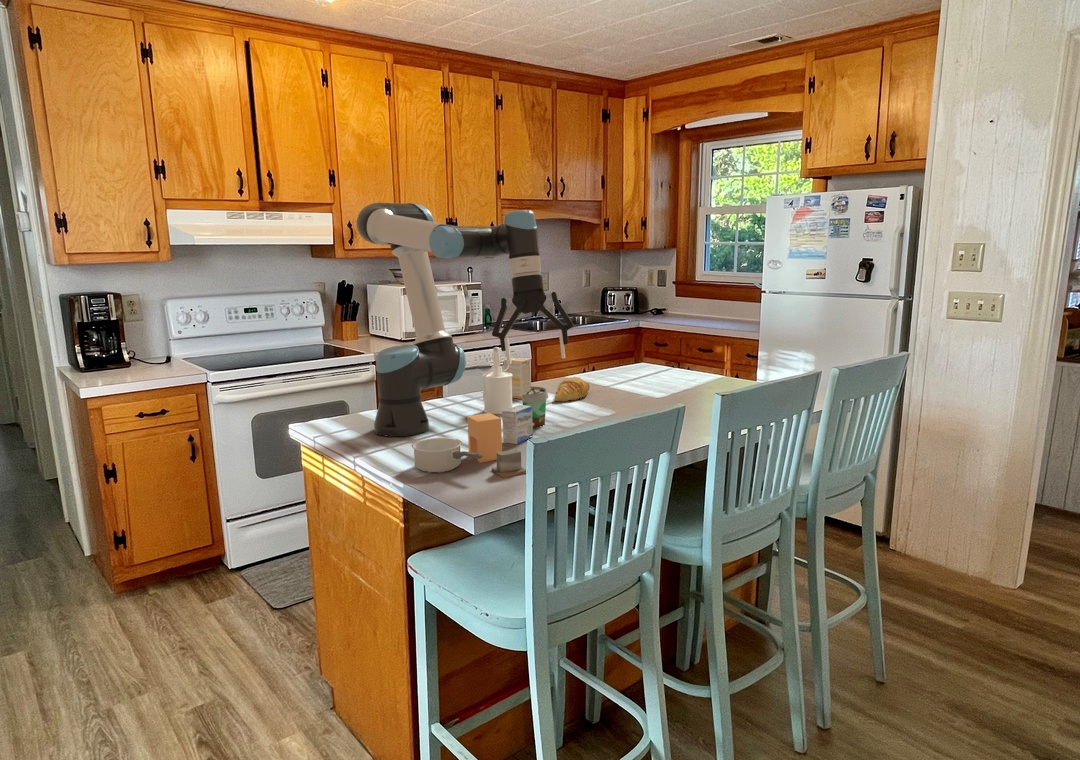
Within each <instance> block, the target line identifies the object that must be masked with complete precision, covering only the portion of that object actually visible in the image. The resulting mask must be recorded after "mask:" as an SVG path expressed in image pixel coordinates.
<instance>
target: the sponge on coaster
mask: <svg viewBox="0 0 1080 760" xmlns="http://www.w3.org/2000/svg"><path fill="white" fill-rule="evenodd" d="M496 456H497V460H496V466H495V467H491V471H492V472H493V473H494V474H496V475H497V476H499V477H501V478H503V479H504V478H511V477H514V476H519V475H525V474H526V473H525V472H526V470H527V469H526V468H523V467H522V451H521V450H519V449H516V448H515V449H510V450H509V449H508V450H504V451H503V450H502V452H497V453H496Z"/></svg>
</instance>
